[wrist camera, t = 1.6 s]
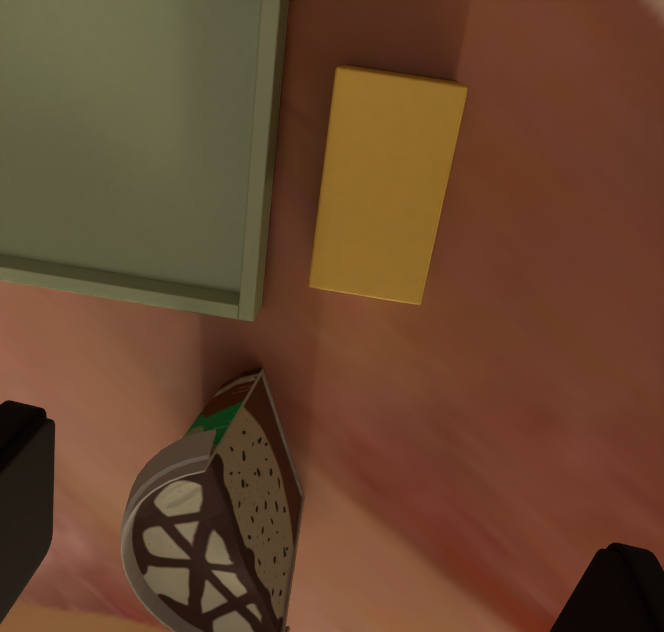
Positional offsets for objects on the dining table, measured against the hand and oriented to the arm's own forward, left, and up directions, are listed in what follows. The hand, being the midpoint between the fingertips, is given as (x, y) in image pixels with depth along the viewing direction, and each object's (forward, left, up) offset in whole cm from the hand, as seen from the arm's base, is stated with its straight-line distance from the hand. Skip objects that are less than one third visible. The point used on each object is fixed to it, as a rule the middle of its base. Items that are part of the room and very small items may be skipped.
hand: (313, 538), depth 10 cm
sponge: (0, -2, -21) cm, 21 cm away
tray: (+16, -2, -21) cm, 26 cm away
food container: (+6, +15, -21) cm, 26 cm away
